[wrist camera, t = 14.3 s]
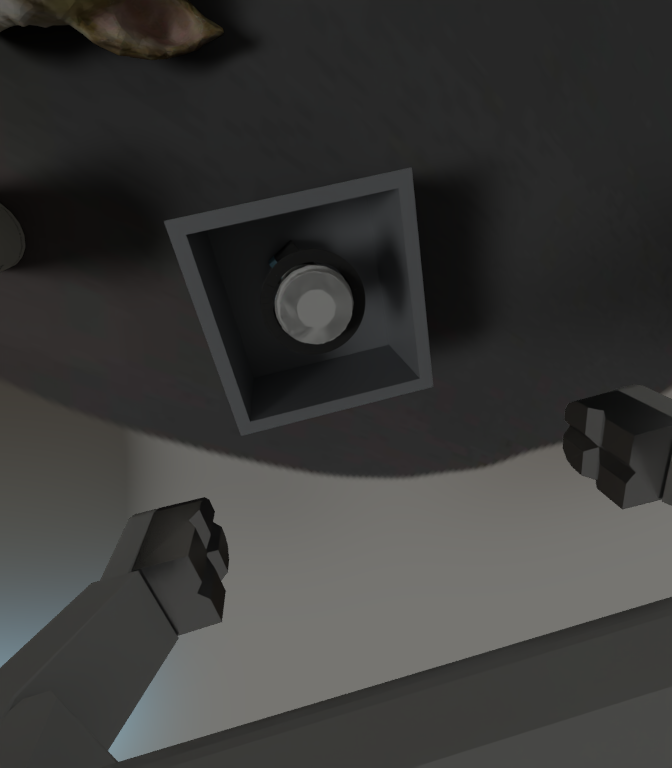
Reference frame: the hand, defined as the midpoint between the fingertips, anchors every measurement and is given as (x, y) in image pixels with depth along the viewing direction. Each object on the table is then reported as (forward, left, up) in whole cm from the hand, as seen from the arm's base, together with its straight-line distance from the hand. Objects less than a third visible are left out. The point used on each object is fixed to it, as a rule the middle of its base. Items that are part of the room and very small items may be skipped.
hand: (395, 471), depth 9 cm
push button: (0, -1, -22) cm, 22 cm away
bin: (0, 0, -23) cm, 23 cm away
